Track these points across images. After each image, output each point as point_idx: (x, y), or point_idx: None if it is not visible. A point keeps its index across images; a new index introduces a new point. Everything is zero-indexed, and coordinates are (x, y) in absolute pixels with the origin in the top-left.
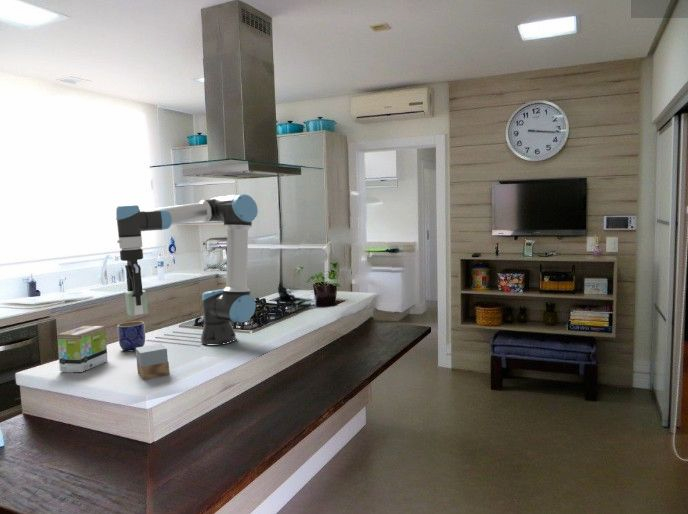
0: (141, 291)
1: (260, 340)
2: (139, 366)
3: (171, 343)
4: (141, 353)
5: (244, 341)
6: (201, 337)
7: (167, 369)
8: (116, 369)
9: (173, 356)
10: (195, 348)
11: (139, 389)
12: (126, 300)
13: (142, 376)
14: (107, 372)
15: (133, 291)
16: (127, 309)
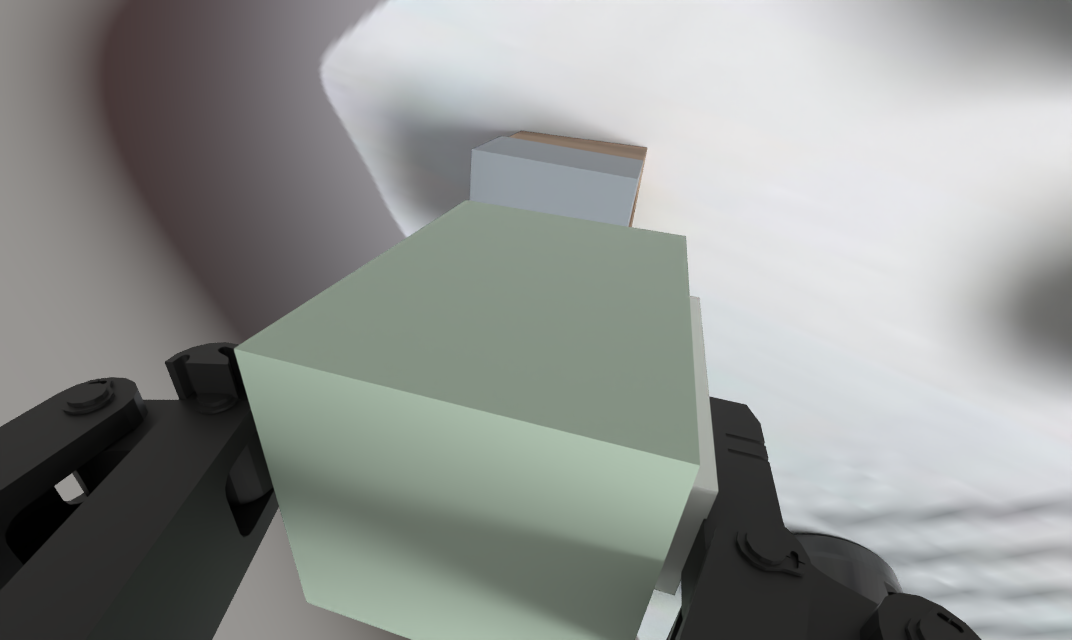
0: (76, 503)
1: (660, 621)
2: (578, 148)
3: (1054, 500)
4: (473, 156)
5: None
6: (860, 570)
7: None
8: (863, 79)
9: (780, 385)
10: (806, 493)
11: (401, 65)
12: (593, 312)
13: (532, 134)
14: (857, 7)
15: (189, 462)
16: (607, 247)
